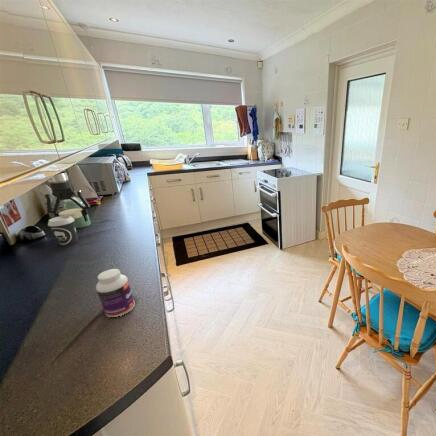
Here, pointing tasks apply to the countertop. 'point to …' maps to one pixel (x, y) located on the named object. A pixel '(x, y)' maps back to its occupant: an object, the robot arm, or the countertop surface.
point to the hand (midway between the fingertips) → (74, 222)
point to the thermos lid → (72, 213)
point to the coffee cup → (64, 230)
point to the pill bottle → (114, 293)
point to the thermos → (79, 221)
